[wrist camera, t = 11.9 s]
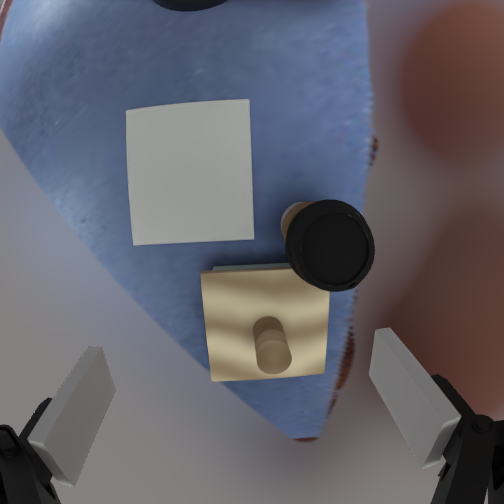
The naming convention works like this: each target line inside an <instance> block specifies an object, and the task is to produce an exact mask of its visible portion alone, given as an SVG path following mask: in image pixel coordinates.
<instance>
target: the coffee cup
mask: <svg viewBox="0 0 504 504" xmlns="http://www.w3.org/2000/svg"><path fill="white" fill-rule="evenodd" d="M281 231H282V234H283V238H284V242H285V250H286V256H287V259H288V262H289V264H290V266H291V268H292V269H293V271H294V272H295V273H296V274H297V275H298V276H299V277H300V278H301V279H302V280H304V281H305V282H307V283H308V284H310V285H313V286H315V287H317V288H319V289H321V290H324V291H328V292H339V291H345V290H349V289H352V288H354V287H355V286H357V285H358V284H359V283H360V282H361V281H362V280H363V279H364V277H365V276H366V275H367V273H368V272H369V270H370V269H371V266H372V264H373V260H374V255H375V253H374V252H375V247H374V240H373V236H372V233H371V230H370V228H369V227H368V225H367V223H366V221H365V219H364V217H363V216H362V215H361V214H360V213H359V211H357V210H356V209H355V208H354V207H352V206H351V205H349V204H347V203H345V202H342V201H338V200H322V201H312V202H297V203H294V204H292V205H291V206H289V207H288V208H287V209H286V210H285V212H284V213H283V215H282V218H281Z"/></svg>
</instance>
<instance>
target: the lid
mask: <svg viewBox="0 0 504 504" xmlns="http://www.w3.org/2000/svg"><path fill="white" fill-rule="evenodd" d="M200 275H201V287H202V297H203V308H204V318H205V327H206V336H207V345H208V354H209V362H210V371H211V378H212V381H237V380H256V379H271V378H283V377H294V376H304V375H313V374H322V373H324V368H325V357H326V344H327V330H328V314H329V295H330V292H328V291H324V290H321V289H319V288H317V287H315V286H313V285H310V284H308V283H307V282H305V281H304V280H302V279H301V278H300V277H299V276H298V275H297V274H296V273H295V272H294V271H293V269H292V268H291V266H287V267H268V268H248V269H227V270H205V271H201V273H200Z"/></svg>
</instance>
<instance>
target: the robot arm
mask: <svg viewBox="0 0 504 504" xmlns="http://www.w3.org/2000/svg"><path fill="white" fill-rule="evenodd" d="M153 1H154V2H156V3H157V4H159V5H161V6H163V7H166V8H169V9H173V10H180V11H194V10H201V9H206V8H210V7H213V6H216V5H218V4H221V3H223V2H225V1H227V0H153ZM369 376H370V378H371V380H372V381H373V383H374V385H375V387H376V388H377V390H378V392H379V394H380V396H381V397H382V399H383V401H384V403H385V404H386V406H387V408H388V410H389V411H390V413H391V415H392V417H393V419H394V421H395V422H396V424H397V426H398V428H399V430H400V431H401V433H402V435H403V437H404V439H405V440H406V442H407V444H408V446H409V448H410V450H411V452H412V453H413V455H414V457H415V459H416V461H417V463H418V465H419V467H420V469H421V470H422V469H425V468H428V467H430V466H433V465H436V464H438V462H439V460H440V458H441V456H442V455H443V456H444V458H445V459H446V463H445V465H444V466H443V468H442V469H441V471H440V473H439V474H438V476H440V479H439V482H438V485H437V488H436V490H435V493H434V496H433V499H432V501H431V504H484V501H485V496H486V492H487V487H488V504H504V420H501V421H493V419H491V418H490V417H488V416H485V415H478V414H477V415H476V414H475V413H474V411H473V410H472V409H471V408H470V407H469V405H468V404H467V403H466V402H465V400H464V399H463V398H462V397H461V396H460V394H458V392H457V391H456V390H455V389H453V386H452V385H451V384H450V383H449V381H448V380H447V379H445V378H444V377H442V376H440V375H439V374H436V375H432V376H429V374H428V373H427V372H426V371H425V370H424V368H423V367H422V366H421V365H420V363H419V362H418V361H417V360H416V359H415V357H414V356H413V355H412V354H411V352H410V351H409V350H408V349H407V348H406V346H405V345H404V344H403V343H402V342H401V340H400V339H399V338H398V337H397V336H396V335H395V333H394V332H393V331H392V330H391V329H390V328H384V329H378V330H376V331H375V338H374V345H373V352H372V358H371V365H370V371H369ZM115 392H116V388H115V386H114V383H113V380H112V377H111V374H110V371H109V368H108V365H107V362H106V359H105V356H104V353H103V350H102V347H88V348H87V349H86V351H85V352H84V354H83V355H82V356H81V358H80V359H79V361H78V362H77V363H76V365H75V366H74V368H73V370H72V371H71V372H70V374H69V375H68V377H67V378H66V380H65V381H64V382H63V384H62V385H61V387H60V388H59V390H58V391H57V393H56V395H55V396H54V397H53V398H47V399H46V400H44V401H43V402H42V403H41V404H40V405H39V406H38V408H37V409H36V411H35V413H34V414H33V415H32V417H31V419H30V420H29V421H28V423H27V424H26V426H25V428H24V429H23V431H22V432H21V434H20V435H19V437H18V436H17V435H16V433H15V431H14V430H13V428H11V427H10V426H9V425H0V504H61V503H60V500H59V498H58V496H57V493H56V491H55V489H54V486H53V485H52V483H51V482H50V480H51V478H52V476H54V477H55V479H56V480H57V481H58V483H60V484H63V485H67V486H71V487H75V485H76V482H77V480H78V478H79V475H80V473H81V470H82V468H83V465H84V463H85V460H86V458H87V456H88V453H89V451H90V448H91V446H92V444H93V441H94V439H95V437H96V434H97V432H98V430H99V427H100V425H101V423H102V421H103V419H104V416H105V414H106V412H107V410H108V407H109V405H110V403H111V401H112V399H113V396H114V394H115Z"/></svg>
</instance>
